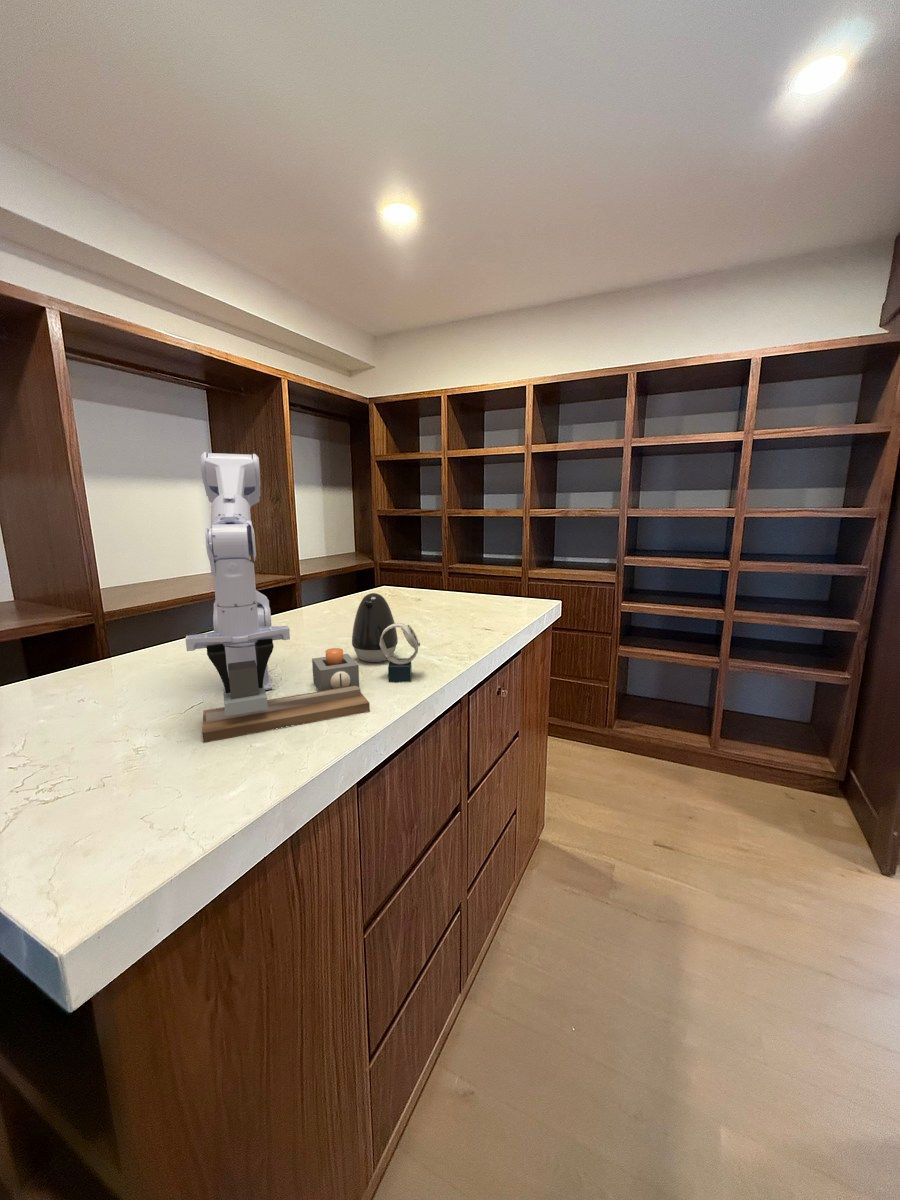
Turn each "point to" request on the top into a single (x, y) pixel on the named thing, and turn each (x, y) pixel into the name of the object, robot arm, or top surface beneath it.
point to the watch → (401, 666)
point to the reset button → (334, 656)
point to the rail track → (285, 713)
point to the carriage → (244, 690)
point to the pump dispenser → (373, 629)
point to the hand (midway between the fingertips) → (244, 688)
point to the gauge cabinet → (335, 673)
